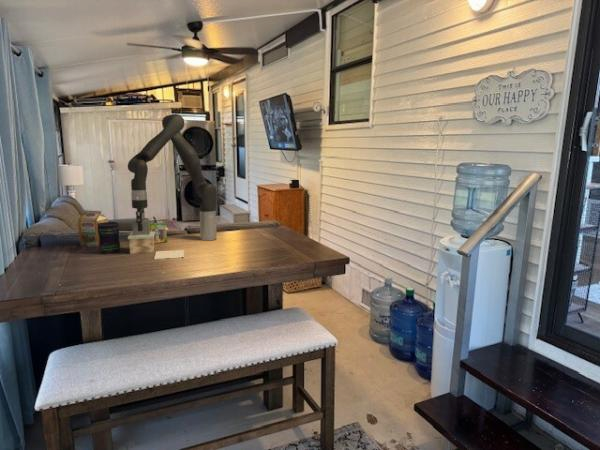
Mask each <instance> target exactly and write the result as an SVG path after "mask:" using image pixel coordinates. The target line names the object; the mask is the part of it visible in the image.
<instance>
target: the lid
mask: <svg viewBox="0 0 600 450" xmlns="http://www.w3.org/2000/svg"><path fill="white" fill-rule="evenodd" d="M136 222H137V221H136V220H132V223H131V224H132V225H131V227H132V232H130V233H129V235H128V236H127V240H129V239H143V238H153V237H154V234H155V231H152V232H150V224H149V222H150V220H149V219H148V220H145V219H144V220H142V222H143V223H142V228H143V230H142V231H138V224H137V223H136Z"/></svg>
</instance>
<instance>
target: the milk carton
mask: <svg viewBox="0 0 600 450" xmlns="http://www.w3.org/2000/svg"><path fill="white" fill-rule="evenodd" d="M108 219H109V218H108V217H107V215H105V214H104V213H102V210H88V209H87V210H83V211H82V214H81V215H80V216H79V218H78V220H77V222H78V223H77V224H78V226H77V227H78V235H79V245H80V247H95V248H99V235H98V224H99V223H104V222H109V221H108Z"/></svg>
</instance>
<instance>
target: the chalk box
mask: <svg viewBox="0 0 600 450" xmlns="http://www.w3.org/2000/svg"><path fill="white" fill-rule="evenodd" d="M152 218H153V220H152V221H149V224H150V232H152V231H155V234H154V244H160V243H168V235H167V234H168V233H167V223H166V222H165V221H163V220H157V218H156V217H155V216H152Z"/></svg>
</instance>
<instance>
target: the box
mask: <svg viewBox="0 0 600 450" xmlns="http://www.w3.org/2000/svg"><path fill="white" fill-rule="evenodd" d="M128 242H129V254H130V255H138V254H154V250H155V243H154V237H153V238H143V239H128Z"/></svg>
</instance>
